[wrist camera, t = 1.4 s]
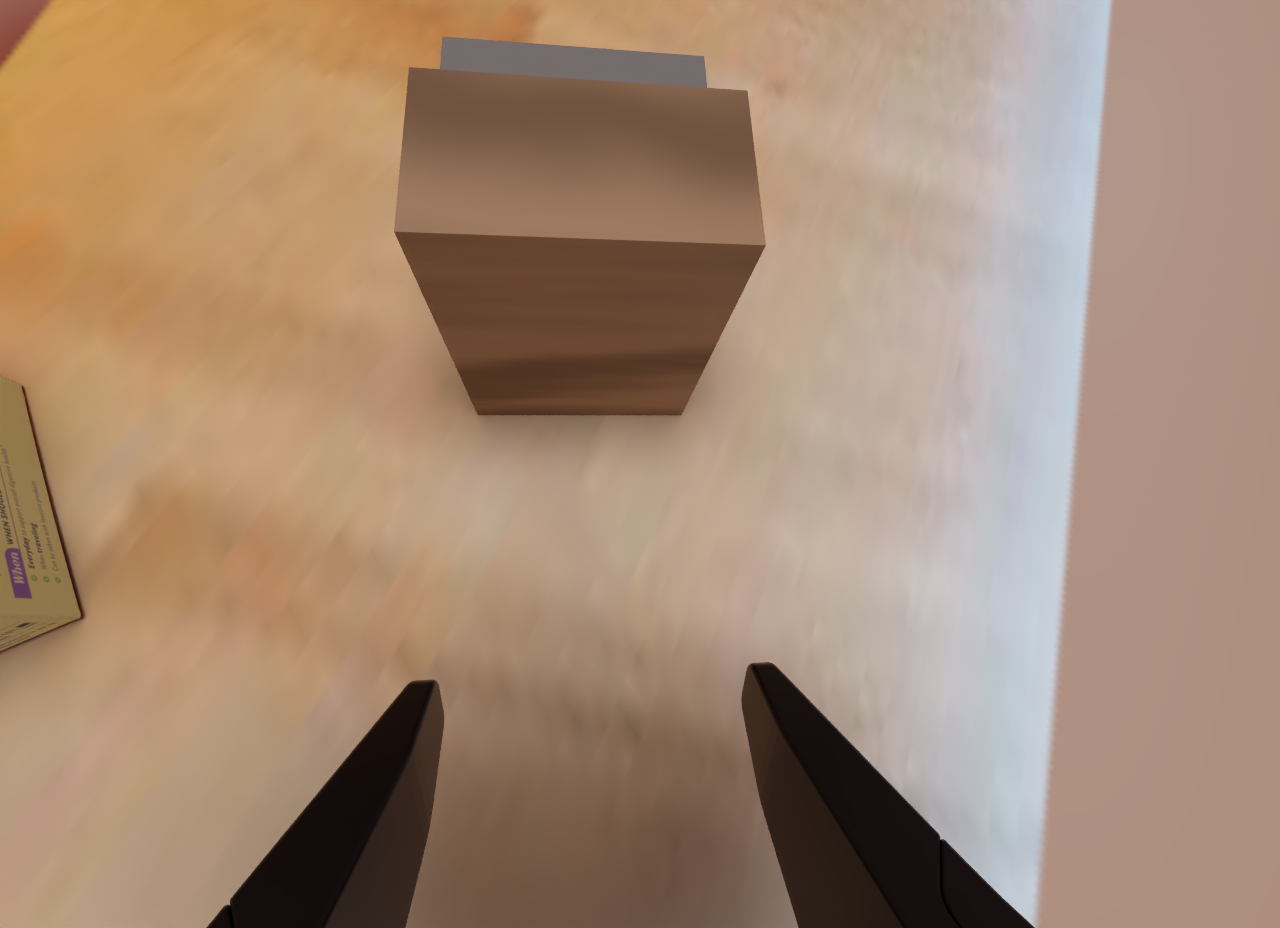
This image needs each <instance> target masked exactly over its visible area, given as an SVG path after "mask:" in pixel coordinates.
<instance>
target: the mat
mask: <svg viewBox="0 0 1280 928" xmlns="http://www.w3.org/2000/svg"><path fill="white" fill-rule="evenodd" d="M440 70H455V71H469V72H483V73H498V74H512V75H527V76H541V77H556V78H570V79H585V80H599V81H613V82H628V83H642V84H657V85H671V86H686V87H700V88H707V83H706V72H705V61H704V56H692V55H679V54H665V53H652V52H639V51H625V50H612V49H599V48H585V47H572V46H559V45H545V44H532V43H519V42H505V41H492V40H479V39H466V38H452V37H442V51H441V65H440Z"/></svg>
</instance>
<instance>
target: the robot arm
mask: <svg viewBox="0 0 1280 928" xmlns="http://www.w3.org/2000/svg"><path fill="white" fill-rule="evenodd" d="M742 710H743V716H744V721H745V726H746V731H747V736H748V741H749V746H750V752H751V757H752V762H753V767H754V772H755V777H756V782H757V787H758V792H759V797H760V801H761V805H762V808H763V812H764V816H765V819H766V822H767V825H768V829H769V832H770V835H771V839H772V842H773V845H774V848H775V852H776V855H777V858H778V861H779V865H780V868H781V871H782V875H783V878H784V881H785V884H786V888H787V891H788V894H789V897H790V901H791V904H792V907H793V911H794V914H795V917H796V920H797V924H798V927H799V928H1034V927H1033V926H1032V925H1031V924H1030V923H1029V922H1028V921H1027V920H1026V919H1025V918H1024V917H1023V916H1021V915H1020V914H1019V913H1018V912H1017V911H1016V910H1015V909H1014V908H1013V907H1012V906H1011V905H1010V904H1008V903H1007V902H1006V901H1005V900H1004V899H1003V898H1002V897H1001V896H1000V895H999V894H998V893H997V892H996V891H995V890H994V889H993V888H992V887H991V886H990V885H989V884H988V883H987V882H986V881H985V880H984V879H983V878H982V877H981V876H980V875H979V874H978V873H977V872H976V871H975V870H974V869H973V868H972V867H971V866H970V865H969V864H968V863H967V862H966V861H965V860H964V859H963V858H962V857H961V856H960V855H959V854H958V853H957V852H956V851H955V850H954V849H953V848H952V847H951V846H950V845H949V844H948V843H947V842H946V841H945V840H944V839H941V840H940V835H939V834H938V833H937V832H936V831H935V830H934V829H933V828H932V826H931V825H930V824H929V823H928V822H927V821H926V820H925V819H924V818H923V817H922V816H921V815H920V814H919V813H918V812H917V811H916V810H915V809H914V808H913V807H912V806H911V805H910V804H909V803H908V802H907V801H906V800H905V799H904V798H903V797H902V796H901V795H900V793H899V792H898V791H897V790H896V789H895V788H894V787H893V786H892V785H891V784H890V783H889V782H888V781H887V780H886V779H885V778H884V777H883V776H882V775H881V774H880V773H879V772H878V771H877V770H876V769H875V768H874V767H873V766H872V765H871V764H870V763H869V761H868V760H867V759H866V758H865V757H864V756H863V755H862V754H861V753H860V752H859V751H858V750H857V749H856V748H855V747H854V746H853V745H852V744H851V743H850V742H849V741H848V740H847V739H846V738H845V737H844V736H843V735H842V734H841V733H840V732H839V731H838V729H837V728H836V727H835V726H834V725H833V724H832V723H831V722H830V721H829V720H828V719H827V718H826V717H825V716H824V715H823V714H822V713H821V712H820V711H819V710H818V709H817V708H816V707H815V706H814V705H813V704H812V703H811V702H810V701H809V700H808V699H807V697H806V696H805V695H804V694H803V693H802V692H801V691H800V690H799V689H798V688H797V687H796V686H795V685H794V684H793V683H792V682H791V681H790V680H789V679H788V678H787V677H786V676H785V675H784V674H783V673H782V672H781V671H780V670H779V669H778V668H777V667H776V666H775V665H774V664H772V663H769V662H765V663H752V664H750V665H749V666H748V668H747V671H746V676H745V681H744V686H743V691H742ZM443 728H444V711H443V706H442V700H441V695H440V689H439V685H438V683H437V681H436V680H417V681H412V682H410V683H409V684H408V685H407V686H406V687H405V688H404V689H403V691H402V692H401V693H400V694H399V695H398V697H397V698H396V699H395V700H394V701H393V703H392V704H391V705H390V706H389V707H388V709H387V710H386V711H385V712H384V714H383V715H382V716H381V717H380V718H379V720H378V721H377V722H376V723H375V724H374V726H373V727H372V728H371V729H370V731H369V732H368V733H367V734H366V735H365V737H364V738H363V739H362V740H361V741H360V743H359V744H358V745H357V746H356V747H355V749H354V750H353V751H352V752H351V754H350V755H349V756H348V757H347V758H346V760H345V761H344V762H343V763H342V764H341V766H340V767H339V768H338V769H337V771H336V772H335V773H334V774H333V775H332V777H331V778H330V779H329V780H328V781H327V783H326V784H325V785H324V786H323V788H322V789H321V790H320V791H319V792H318V794H317V795H316V796H315V797H314V798H313V800H312V801H311V802H310V803H309V804H308V806H307V807H306V808H305V809H304V811H303V812H302V813H301V814H300V815H299V817H298V818H297V819H296V820H295V821H294V823H293V824H292V825H291V826H290V828H289V829H288V830H287V831H286V832H285V834H284V835H283V836H282V837H281V838H280V840H279V841H278V842H277V843H276V844H275V846H274V847H273V848H272V849H271V851H270V852H269V853H268V854H267V855H266V857H265V858H264V859H263V860H262V861H261V863H260V864H259V865H258V866H257V868H256V869H255V870H254V871H253V872H252V874H251V875H250V876H249V877H248V878H247V880H246V881H245V882H244V883H243V884H242V886H241V887H240V888H239V889H238V891H237V892H236V893H235V894H234V895H233V897H232V898H231V899H230V905H226V906H224V907H223V908H222V909H221V911H220V912H219V913H218V914H217V916H216V917H215V918H214V919H213V920H212V922H211V923H210V924H209V925H208V927H207V928H405V927H406V923H407V919H408V914H409V910H410V906H411V902H412V898H413V894H414V890H415V886H416V882H417V878H418V874H419V870H420V866H421V862H422V858H423V854H424V850H425V846H426V841H427V837H428V832H429V827H430V821H431V815H432V809H433V802H434V794H435V787H436V779H437V772H438V765H439V757H440V750H441V743H442V735H443Z"/></svg>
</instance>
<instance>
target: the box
mask: <svg viewBox="0 0 1280 928" xmlns="http://www.w3.org/2000/svg"><path fill="white" fill-rule="evenodd" d="M80 617H81V613H80V610H79V607H78V603H77V600H76V596H75V593H74V590H73V586H72V582H71V579H70V575H69V572H68V568H67V564H66V561H65V557H64V553H63V550H62V546H61V542H60V538H59V534H58V531H57V527H56V523H55V520H54V516H53V512H52V508H51V505H50V501H49V497H48V493H47V489H46V485H45V482H44V478H43V474H42V470H41V466H40V462H39V458H38V454H37V449H36V445H35V441H34V437H33V433H32V428H31V424H30V420H29V416H28V412H27V407H26V403H25V396H24V394H23V390H22V387H21V385H20V384H18V383H16V382H14V381H11V380H9V379H7V378H4V377H2V376H0V651H3V650H5V649H7V648H10V647H12V646H15V645H17V644H19V643H22V642H24V641H27V640H29V639H31V638H34V637H36V636H38V635H41V634H43V633H45V632H48V631H50V630H52V629H55V628H57V627H59V626H62V625H64V624H67V623H69V622H71V621H74V620H77V619H79V618H80Z"/></svg>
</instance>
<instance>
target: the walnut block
mask: <svg viewBox="0 0 1280 928" xmlns="http://www.w3.org/2000/svg"><path fill="white" fill-rule="evenodd" d="M394 232H395V234H396V237H397V239H398V241H399V243H400V245H401V248H402V250H403V252H404V254H405V256H406V259H407V261H408V263H409V265H410V267H411V270H412V272H413V274H414V276H415V278H416V280H417V283H418V285H419V287H420V289H421V291H422V294H423V296H424V298H425V300H426V302H427V305H428V307H429V309H430V311H431V313H432V315H433V318H434V320H435V322H436V324H437V326H438V329H439V331H440V333H441V335H442V337H443V340H444V342H445V344H446V346H447V348H448V351H449V353H450V355H451V357H452V359H453V361H454V364H455V366H456V368H457V370H458V372H459V375H460V377H461V379H462V381H463V383H464V386H465V388H466V390H467V392H468V394H469V396H470V399H471V401H472V403H473V405H474V407H475V410H476V412H477V414H478V415H681V414H682V412H683V410H684V408H685V406H686V404H687V402H688V400H689V398H690V396H691V394H692V392H693V390H694V388H695V386H696V384H697V382H698V380H699V378H700V376H701V374H702V372H703V370H704V368H705V366H706V364H707V362H708V360H709V358H710V356H711V354H712V352H713V350H714V348H715V346H716V344H717V342H718V340H719V338H720V336H721V334H722V332H723V330H724V328H725V326H726V324H727V322H728V320H729V318H730V316H731V314H732V312H733V310H734V308H735V306H736V304H737V302H738V300H739V298H740V296H741V294H742V292H743V290H744V288H745V286H746V284H747V282H748V280H749V278H750V276H751V274H752V272H753V270H754V268H755V266H756V264H757V262H758V260H759V258H760V256H761V254H762V252H763V250H764V248H765V246H766V244H765V235H764V227H763V219H762V210H761V202H760V193H759V185H758V176H757V168H756V160H755V151H754V143H753V134H752V126H751V117H750V109H749V101H748V92H747V91H744V90H729V89H715V88H700V87H686V86H671V85H657V84H642V83H628V82H613V81H599V80H585V79H570V78H556V77H541V76H527V75H512V74H498V73H483V72H469V71H455V70H440V69H426V68H411V67H409V75H408V86H407V97H406V108H405V119H404V130H403V141H402V152H401V162H400V173H399V184H398V195H397V206H396V217H395V228H394Z"/></svg>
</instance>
